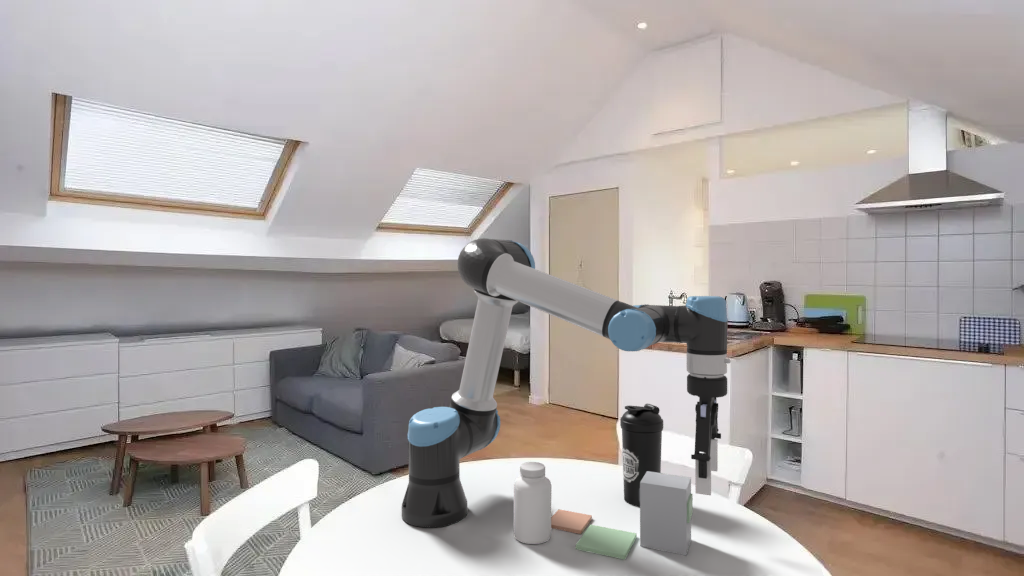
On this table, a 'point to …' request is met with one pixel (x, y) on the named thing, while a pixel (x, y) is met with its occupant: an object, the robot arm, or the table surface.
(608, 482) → the table surface
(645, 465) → the water bottle
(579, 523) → the terracotta pad
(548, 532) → the pill bottle
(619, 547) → the green pad
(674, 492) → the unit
